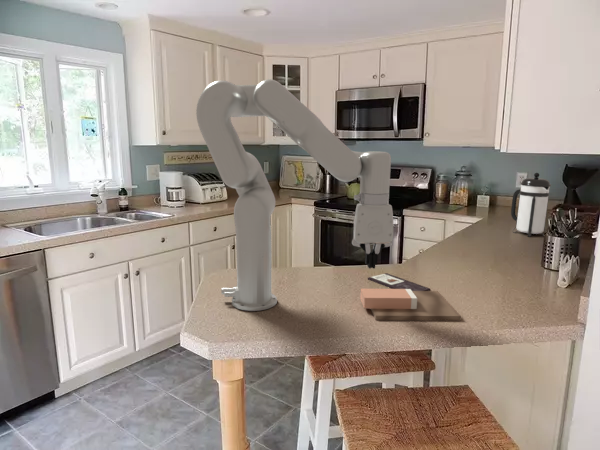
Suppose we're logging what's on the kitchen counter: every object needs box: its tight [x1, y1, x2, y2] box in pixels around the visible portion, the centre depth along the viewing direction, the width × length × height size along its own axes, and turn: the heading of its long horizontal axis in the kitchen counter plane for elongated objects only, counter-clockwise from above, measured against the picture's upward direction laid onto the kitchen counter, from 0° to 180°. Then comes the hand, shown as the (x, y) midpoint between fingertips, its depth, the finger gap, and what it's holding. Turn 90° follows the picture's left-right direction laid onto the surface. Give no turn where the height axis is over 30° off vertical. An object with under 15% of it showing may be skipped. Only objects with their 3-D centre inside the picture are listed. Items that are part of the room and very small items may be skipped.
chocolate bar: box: [367, 272, 431, 291], centre depth 137 cm, size 9×1×18 cm
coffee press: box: [510, 172, 552, 238], centre depth 208 cm, size 17×16×30 cm
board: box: [370, 290, 462, 321], centre depth 119 cm, size 22×18×1 cm
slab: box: [360, 288, 417, 310], centre depth 117 cm, size 3×7×14 cm
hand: (371, 266), depth 115 cm, fingers closed
